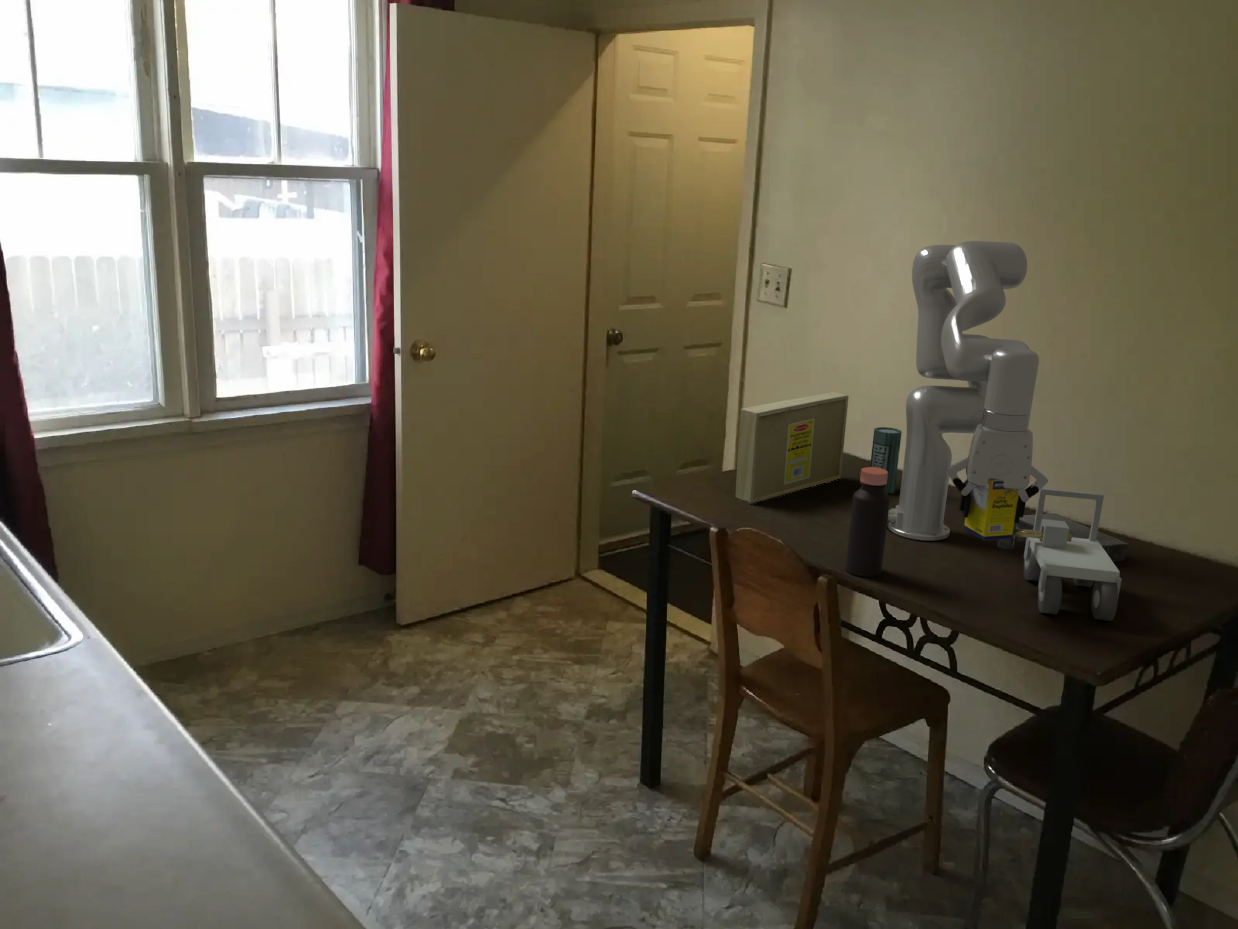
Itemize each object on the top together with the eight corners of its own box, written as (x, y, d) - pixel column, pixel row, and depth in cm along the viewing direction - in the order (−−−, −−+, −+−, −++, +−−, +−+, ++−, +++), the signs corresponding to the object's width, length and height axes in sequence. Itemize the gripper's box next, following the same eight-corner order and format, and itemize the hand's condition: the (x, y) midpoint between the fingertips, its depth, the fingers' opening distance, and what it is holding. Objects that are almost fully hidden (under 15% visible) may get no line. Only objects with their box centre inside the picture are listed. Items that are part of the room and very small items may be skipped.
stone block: (1079, 570, 206) (1084, 546, 204) (1005, 538, 223) (1009, 515, 222) (1128, 562, 212) (1132, 539, 210) (1052, 532, 229) (1055, 510, 227)
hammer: (998, 548, 192) (1003, 517, 191) (996, 543, 195) (1000, 512, 193) (1069, 555, 190) (1075, 524, 188) (1066, 550, 193) (1071, 520, 191)
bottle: (878, 580, 195) (890, 477, 189) (841, 573, 197) (852, 472, 192) (884, 568, 201) (896, 468, 196) (848, 562, 203) (859, 463, 198)
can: (898, 490, 252) (905, 430, 248) (886, 495, 248) (893, 434, 244) (875, 485, 256) (882, 425, 252) (863, 490, 252) (870, 429, 248)
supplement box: (1012, 539, 181) (1022, 479, 178) (982, 541, 180) (992, 481, 176) (991, 527, 187) (1001, 468, 183) (962, 529, 185) (971, 470, 182)
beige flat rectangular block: (825, 476, 263) (834, 391, 257) (841, 480, 259) (850, 394, 253) (733, 500, 239) (740, 408, 234) (749, 505, 236) (756, 412, 230)
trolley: (1039, 618, 181) (1055, 520, 176) (1018, 571, 203) (1032, 482, 198) (1116, 627, 178) (1135, 528, 174) (1087, 579, 200) (1103, 489, 195)
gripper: (954, 421, 175) (940, 519, 180) (1063, 431, 172) (1046, 531, 177) (950, 410, 182) (936, 505, 187) (1055, 420, 179) (1038, 516, 184)
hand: (990, 517), depth 182 cm, fingers closed on supplement box, 8 cm apart
